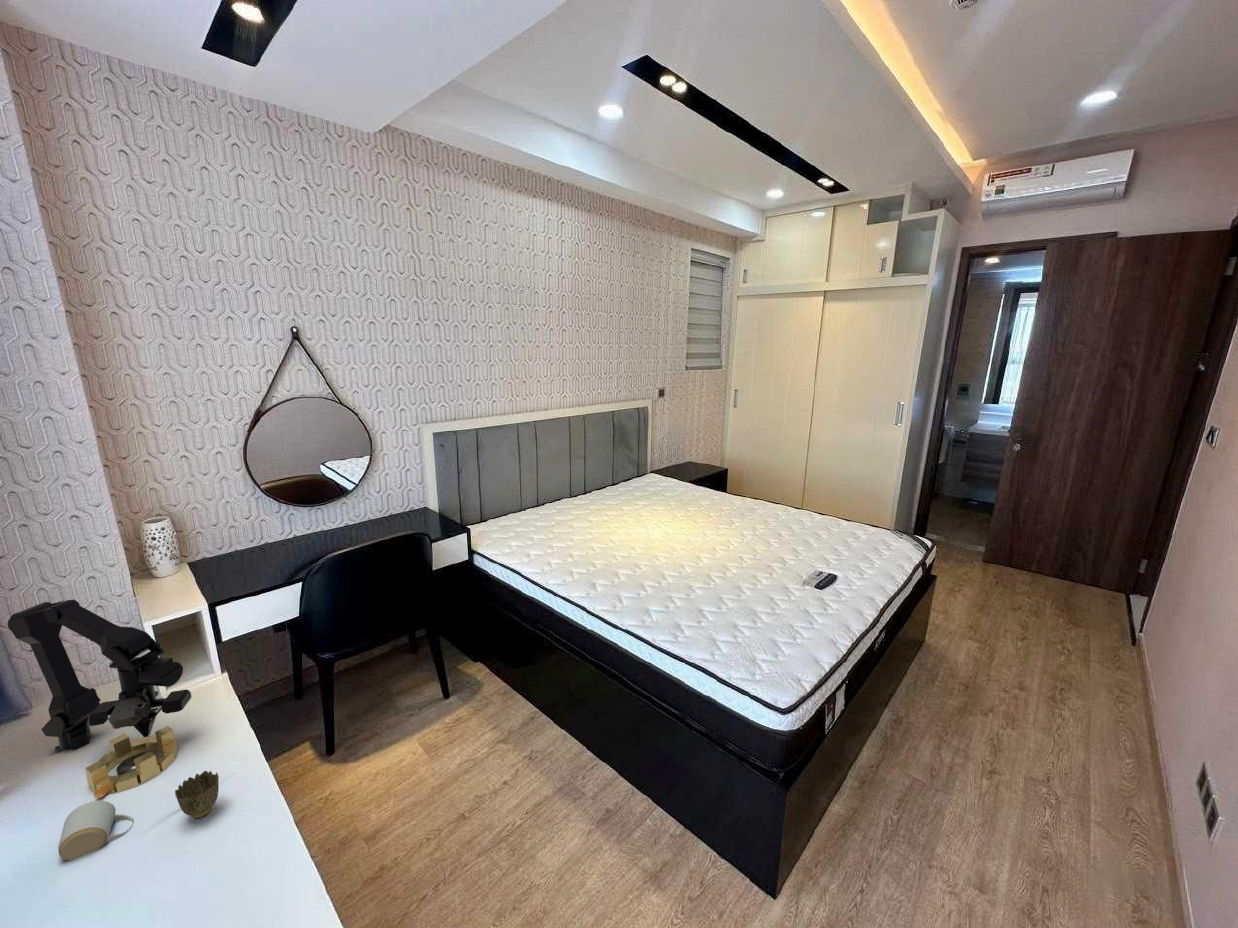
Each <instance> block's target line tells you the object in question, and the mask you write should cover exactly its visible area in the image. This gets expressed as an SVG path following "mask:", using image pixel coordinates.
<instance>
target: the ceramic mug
mask: <svg viewBox="0 0 1238 928" xmlns="http://www.w3.org/2000/svg"><path fill="white" fill-rule="evenodd" d="M116 811H117V810H116V808H115V805H114V804H113V803H111V802H110V801H106V800H105V801H104V800H95V801H89V802H86V803H83V804H81V805H79V806H77V807H76V808H75V809H73V810H72V811H71V812H70V813H69V814H68V815H67V817H66V819H65V821H64V823H63V827H62V831H61V835H60V839H59V843H58V845H57V846H58V847H57V848H58V849H57V850H58V855H59V857H60V858H61V859H63V860H64V861H70V862H71V861H73V860H76V859H78V858H81V857H83V856H86V855H89V854H91V853H94V852H96V851H98V850H100V849H102V847H104V846H105V844H106V843H111V842H113V841H115V840H117V839H119V838H121V837H122V836H125V835H126V834H127V833H128V832H129V831H131V830H132V828H133V827H134V824H135V819H134V818H133V817H132V816H130V815H126V814H116V813H117V812H116ZM121 821H130V822H132V824H131V825H130V827H129V828H128V829H127V830H125V831H123V832H121V833H116V834H111V828H112V827H113V823H115V822H121Z"/></svg>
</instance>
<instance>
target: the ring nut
mask: <svg viewBox="0 0 1238 928" xmlns="http://www.w3.org/2000/svg"><path fill="white" fill-rule="evenodd" d="M154 733H155V735H152V736H150V735H149V736H148V737H142V738H139V739H135V740H131V738H130V735H128V734H127V733H124V732H123V733H122V734H120V735H118V736H116V737H114V738H111V739H110V740H108V744H109V750H110V751H109V752H108V753H106V754H105V755H103V756H102V757H101V758H100V759H99V760H97V761H96V762H94V763H92V764H91V765H89V766H86V767H85V768H84V770H85V773H86V781H87V785H88V788H89V789H90V790H91V791H93V792H94V793H93V798H98V799H99V798H103V797H104V796H105V795H107V794H115V793H116V792H117V793H120V792H123V791H126V790H130V789H132V788H136V787H138V786H140V785H139V784H141V785H143V784H144V783H146V782H148V781H150V780H151V779H153V778H155V777H157V776H159V775H160V774H161V772H164V771H165V770H167V768H168V767H169V766H170V765H172V763H174V761H175V759H176V758H177V755H178V751H179V747H178V741H177V740H176V736H175V730H174V729H173V728H172V727H171V726H168V725H167V726H164V727H162V728H160V729H159V730H157V731H155V732H154ZM157 751H158V752H160V754H159V755H158V756H156V754H155V753H153V752H157ZM140 753H146V754H144V755H142V756H140V757H138V758H136V759H134V762H135V767H136V771H133V772H130V773H126V774H123V775H116V774H115V775H109V771H111V770H112V769H113V768H114V767H116V766H118V765H119V764H120V763H122V762H123V761H124V760H126V759H128V758H129V757H132V756H134V755H137V754H140Z"/></svg>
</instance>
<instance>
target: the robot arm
mask: <svg viewBox="0 0 1238 928" xmlns="http://www.w3.org/2000/svg"><path fill="white" fill-rule="evenodd" d="M62 627H65V628H66V629H69V630H71V631H72V632H74V633H76V634H78V635H80V636H82V637H84V638H86V639H87V640H89V641H91V642H93V643H95V644H96V645H98V647H100V650H101V655H103V656H104V657H105V658H107V659H108V660H109V661H111V664H109V665H108V668H110V669H116V670H117V675H118V678H119V679H118V680H119V684H120V689H121V691H120V692H119V693H118V699H115V700H109V701H105V702H104V701H103V702H101V699H100V697H99V696H98V693H97V690H96V689H95V688H94V687H90V688H88V687H86V686H84V685H82V684H81V682H80V680H79V678H78V676H77V674H76V672H75V669H74V666H73V664H72V662H71V659H70V657H69V655H68V653H67V651H66V648H65V645H64V643H63V640H62V638H61V637H60V633H61V630H62ZM7 628H8V630H9V631H10V632H11V633H12V634H13V636H14V638H16V640H19V641H21V642H23V643H25V644H28V645H29V646H30V648H31V651H32V652H33V655H34V656H35V659H36V661H37V664H38V666H39V668H40V670H41V672H42V674H43V677H44V679H45V682H46V683H47V686H48V688H49V691H50V693H51V695H52V697H51V700H50V704H49V706H48V714H49V717H50V719H49V720H48V721H47V722H46V723H45V724H44V726H43V727H42V728H41V731H42V732H43V734H44V736H45V737H51V738H52V737H53V738H57V740H58V746H55V747H54V750H55V752H57V753H58V754H60V753H61V752H63V751H69V750H71V751H73V750H74V751H76V750H78V749H81V748H83V747H85V746H87V745H89V744H90V742H91V739H92V737H94V734H92V731H91V727H94V726H100V725H105V723H107V721H109V724H111V726H112V728H113V729H114V730H117V729H121V728H127V727H129V728H130V727H133V728H135V730H137V731H138V732H139V734H140V735H141V736H142V738H145V737H148V736H150V735H151V732H152V730H153V727H154V724H155V721H156V718H157V716H158V715H159V714H160V712H161V713H164V714H167V715H168V714H173V713H178V712H181V711H182V710H184V708H185V707H186V706H187V704H188V703H189V701H190V700H191V699H192V692H191V691H190V690H189V689H181V690H173V691H171V692H170V693H169V694H168V695H167V697H165V698H164V697H163V696H161V697H158V696H159V691H158V690H155V687H163V688H164V687H166V688H168V687H172V686H174V685H175V684H177V683H178V681H179V680H180V679H181V677H182V675H183V672H184V666H183V665H182V663H180V662H179V661H178V662H177V661H174V659H173V658H172V657H160V656H162V655H163V654H164V653H165V650H164V649H163V648H162V646H161V644H159V643H158V642H157V641H156V640H155V639H153V637H152V636H151V635H150V634H149V633H148V632H147V631H144V630H141V629H138V628H136V627H134V626H133V627H132V626H119V625H118V624H114V623H113V622H111V621H109V620H108V619H106V618H104V617H102V616H100V615H98V614H97V613H95V612H92V611H91V610H89V609H87V608H85V607H83V606H81V605H80V603H79V602H78V601H77V600H75V599H67V600H60V601H57V602H53V603H52V602H49V601H44V602H41V603H38V604H36V605H34V606H30V607H29V608H26V609H23V610H19V611H18V612H15V613H13V614H12V615H11V616H10V618H9V619H8V620H7ZM147 651H149V652H147ZM145 652H147V653H145ZM144 653H145V654H144ZM141 654H143V655H141ZM140 655H141V656H140Z"/></svg>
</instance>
